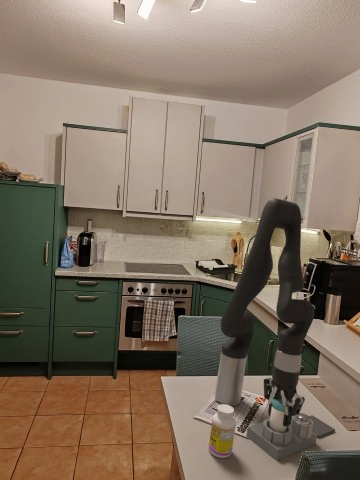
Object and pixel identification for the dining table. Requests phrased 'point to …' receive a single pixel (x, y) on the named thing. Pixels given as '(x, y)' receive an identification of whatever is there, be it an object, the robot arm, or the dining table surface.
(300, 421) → the plunger
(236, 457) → the dining table surface
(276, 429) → the cartridge
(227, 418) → the supplement bottle
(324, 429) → the mat
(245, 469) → the dining table surface
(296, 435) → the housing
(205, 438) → the dining table surface
